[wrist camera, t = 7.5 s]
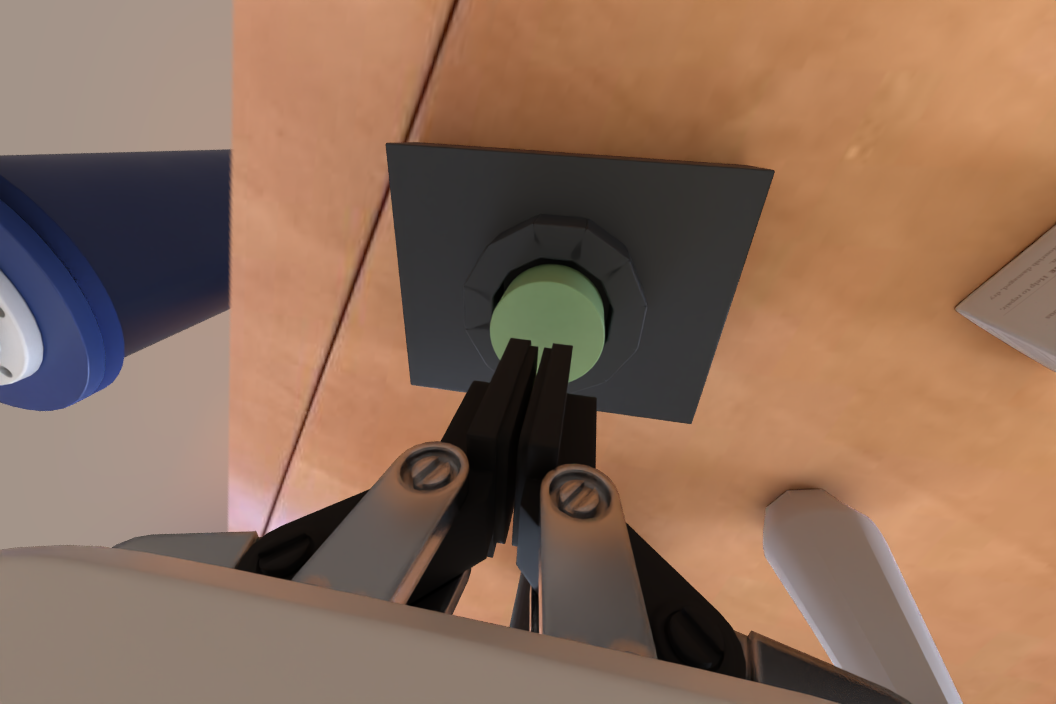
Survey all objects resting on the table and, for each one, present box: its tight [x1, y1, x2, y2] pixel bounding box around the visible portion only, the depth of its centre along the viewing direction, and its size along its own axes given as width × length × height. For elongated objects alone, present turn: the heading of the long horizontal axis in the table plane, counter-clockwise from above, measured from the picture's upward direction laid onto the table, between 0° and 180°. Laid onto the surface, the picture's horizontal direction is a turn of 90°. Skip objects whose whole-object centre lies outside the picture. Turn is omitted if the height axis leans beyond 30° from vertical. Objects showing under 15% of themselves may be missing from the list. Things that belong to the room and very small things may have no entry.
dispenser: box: [386, 142, 775, 424], centre depth 17 cm, size 14×11×5 cm
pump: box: [490, 264, 605, 382], centre depth 14 cm, size 4×4×2 cm
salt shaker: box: [763, 489, 963, 704], centre depth 18 cm, size 6×6×13 cm
